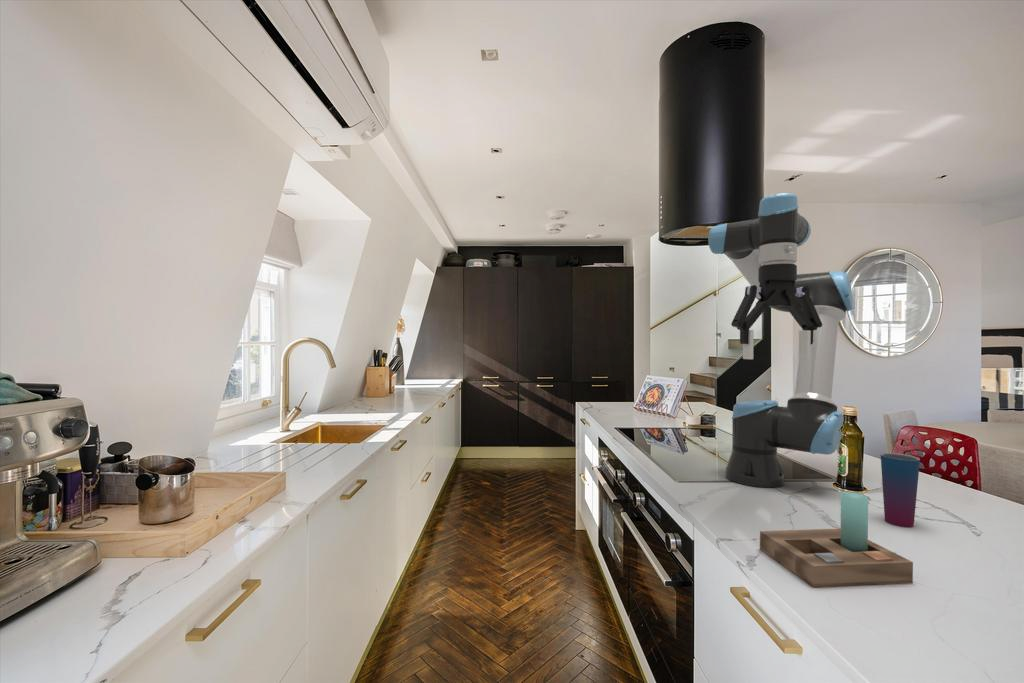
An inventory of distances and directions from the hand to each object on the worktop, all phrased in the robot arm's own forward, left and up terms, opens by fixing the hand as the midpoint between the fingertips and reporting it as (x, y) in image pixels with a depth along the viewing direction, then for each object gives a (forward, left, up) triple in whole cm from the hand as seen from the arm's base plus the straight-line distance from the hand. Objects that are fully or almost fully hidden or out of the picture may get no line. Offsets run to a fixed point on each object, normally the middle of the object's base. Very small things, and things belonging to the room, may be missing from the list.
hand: (776, 359), depth 104 cm
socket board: (+20, -3, -37) cm, 42 cm away
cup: (+3, +28, -37) cm, 46 cm away
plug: (+20, +1, -36) cm, 41 cm away
